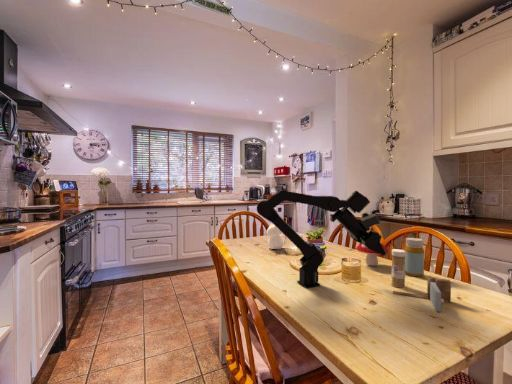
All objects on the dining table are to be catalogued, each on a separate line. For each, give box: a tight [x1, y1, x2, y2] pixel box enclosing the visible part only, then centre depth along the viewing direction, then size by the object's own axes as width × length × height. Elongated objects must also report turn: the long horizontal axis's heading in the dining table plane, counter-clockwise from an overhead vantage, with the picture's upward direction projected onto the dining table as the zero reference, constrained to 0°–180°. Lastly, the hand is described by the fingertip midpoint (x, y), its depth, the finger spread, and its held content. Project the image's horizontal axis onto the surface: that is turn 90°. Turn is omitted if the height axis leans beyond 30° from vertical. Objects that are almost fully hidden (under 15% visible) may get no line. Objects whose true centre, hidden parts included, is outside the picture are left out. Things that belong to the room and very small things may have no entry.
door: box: [429, 282, 445, 313], centre depth 78 cm, size 9×2×6 cm, turn 155°
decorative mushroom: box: [355, 241, 389, 267], centre depth 119 cm, size 14×14×15 cm
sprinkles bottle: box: [390, 248, 406, 289], centre depth 95 cm, size 5×5×13 cm
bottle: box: [404, 237, 425, 278], centre depth 107 cm, size 7×7×15 cm
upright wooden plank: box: [392, 276, 452, 303], centre depth 85 cm, size 16×2×7 cm, turn 65°
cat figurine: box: [266, 222, 287, 250], centre depth 151 cm, size 9×12×15 cm
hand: (379, 251), depth 95 cm, fingers open, 9 cm apart
